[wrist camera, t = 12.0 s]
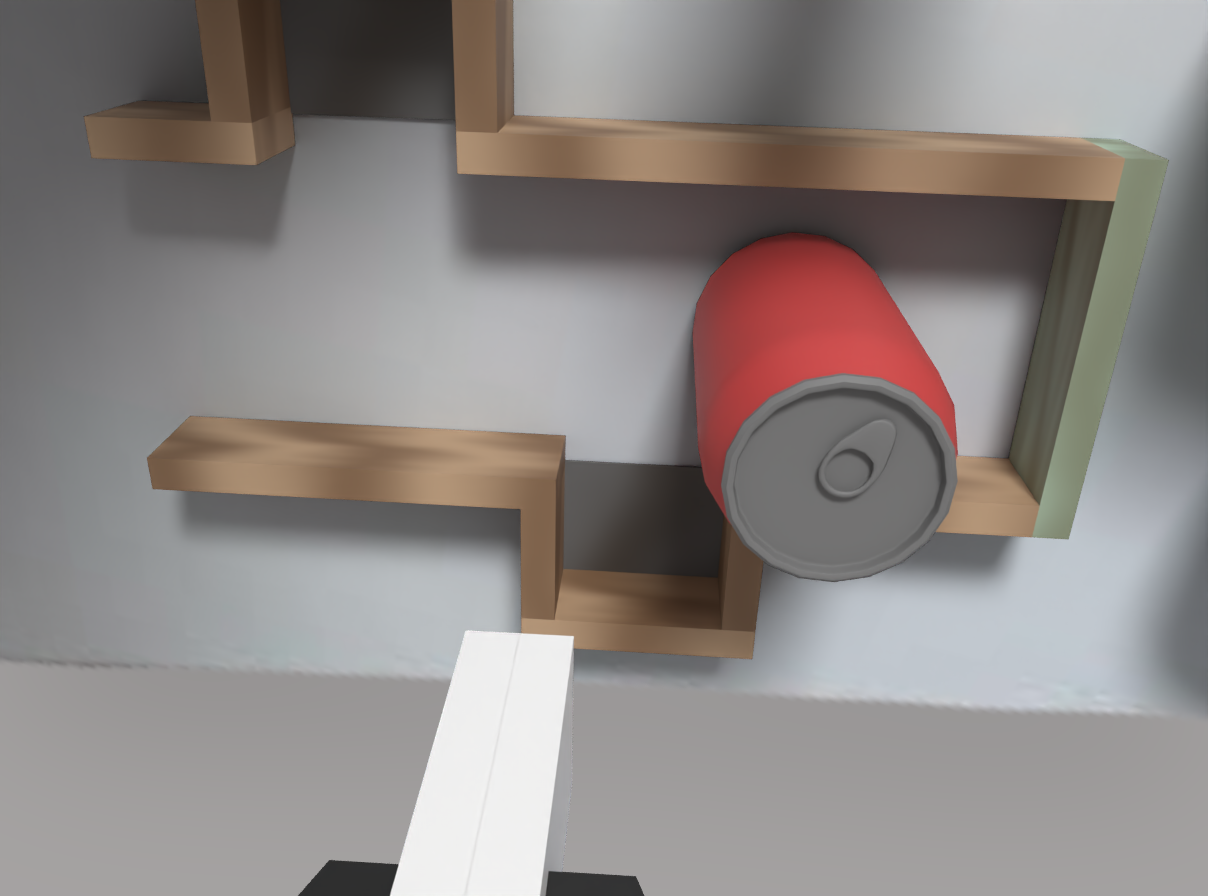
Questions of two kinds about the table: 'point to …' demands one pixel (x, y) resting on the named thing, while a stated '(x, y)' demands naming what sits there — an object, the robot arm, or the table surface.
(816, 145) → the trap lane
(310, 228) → the table surface
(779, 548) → the beer can
